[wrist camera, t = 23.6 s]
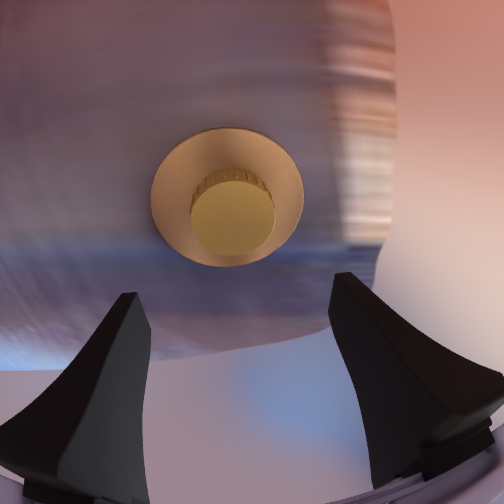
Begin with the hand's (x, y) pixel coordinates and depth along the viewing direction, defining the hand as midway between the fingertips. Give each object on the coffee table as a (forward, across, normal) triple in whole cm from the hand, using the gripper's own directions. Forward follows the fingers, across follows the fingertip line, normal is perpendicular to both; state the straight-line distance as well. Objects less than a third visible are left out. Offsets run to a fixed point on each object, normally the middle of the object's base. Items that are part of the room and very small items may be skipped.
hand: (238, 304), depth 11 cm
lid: (+6, 0, 0) cm, 7 cm away
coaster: (+8, 0, 0) cm, 8 cm away
